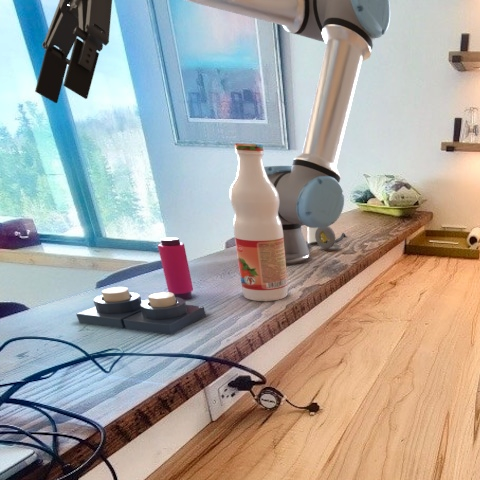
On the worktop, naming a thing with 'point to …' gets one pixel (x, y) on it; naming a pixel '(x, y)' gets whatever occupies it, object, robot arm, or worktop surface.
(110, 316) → the eye block
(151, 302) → the eye pad
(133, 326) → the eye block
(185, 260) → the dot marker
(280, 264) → the fruit juice
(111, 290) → the eye pad
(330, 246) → the pocket watch
